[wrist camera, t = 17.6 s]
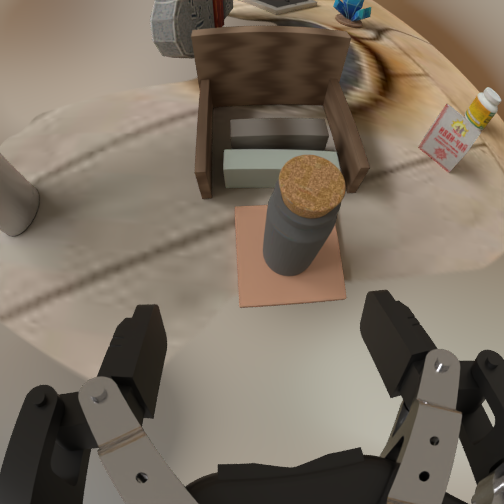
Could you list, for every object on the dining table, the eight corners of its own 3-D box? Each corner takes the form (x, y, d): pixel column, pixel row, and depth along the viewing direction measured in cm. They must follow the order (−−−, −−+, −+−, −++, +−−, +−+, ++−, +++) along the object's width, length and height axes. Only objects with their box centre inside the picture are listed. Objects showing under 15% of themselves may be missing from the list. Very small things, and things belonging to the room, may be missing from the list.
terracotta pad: (239, 307, 33) (239, 306, 32) (235, 210, 36) (234, 206, 36) (343, 299, 33) (346, 298, 32) (329, 206, 37) (331, 202, 36)
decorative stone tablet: (205, -50, 36) (134, 2, 29) (233, -51, 36) (170, -3, 29) (213, 9, 55) (161, 79, 48) (237, 10, 54) (191, 80, 48)
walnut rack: (199, 198, 37) (176, 124, 24) (203, 100, 43) (192, 30, 30) (357, 192, 38) (398, 124, 24) (329, 98, 44) (346, 31, 30)
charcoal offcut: (233, 165, 39) (230, 136, 33) (232, 148, 40) (230, 119, 34) (319, 163, 39) (329, 135, 34) (316, 146, 40) (324, 118, 34)
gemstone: (355, 31, 54) (365, -7, 42) (328, 17, 56) (335, -19, 44) (369, 27, 55) (379, -8, 44) (343, 14, 57) (350, -20, 46)
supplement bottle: (468, 110, 46) (487, 82, 37) (485, 127, 44) (505, 101, 35) (460, 116, 45) (480, 86, 36) (478, 134, 43) (500, 106, 34)
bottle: (323, 250, 34) (367, 180, 20) (291, 287, 32) (322, 236, 18) (284, 219, 35) (304, 135, 21) (251, 253, 34) (252, 182, 19)
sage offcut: (225, 188, 38) (223, 169, 34) (226, 170, 39) (224, 149, 35) (331, 189, 38) (340, 171, 34) (328, 171, 39) (336, 151, 35)
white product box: (424, 137, 42) (448, 99, 32) (453, 161, 40) (482, 126, 31) (418, 147, 41) (444, 108, 31) (448, 172, 39) (479, 137, 30)
